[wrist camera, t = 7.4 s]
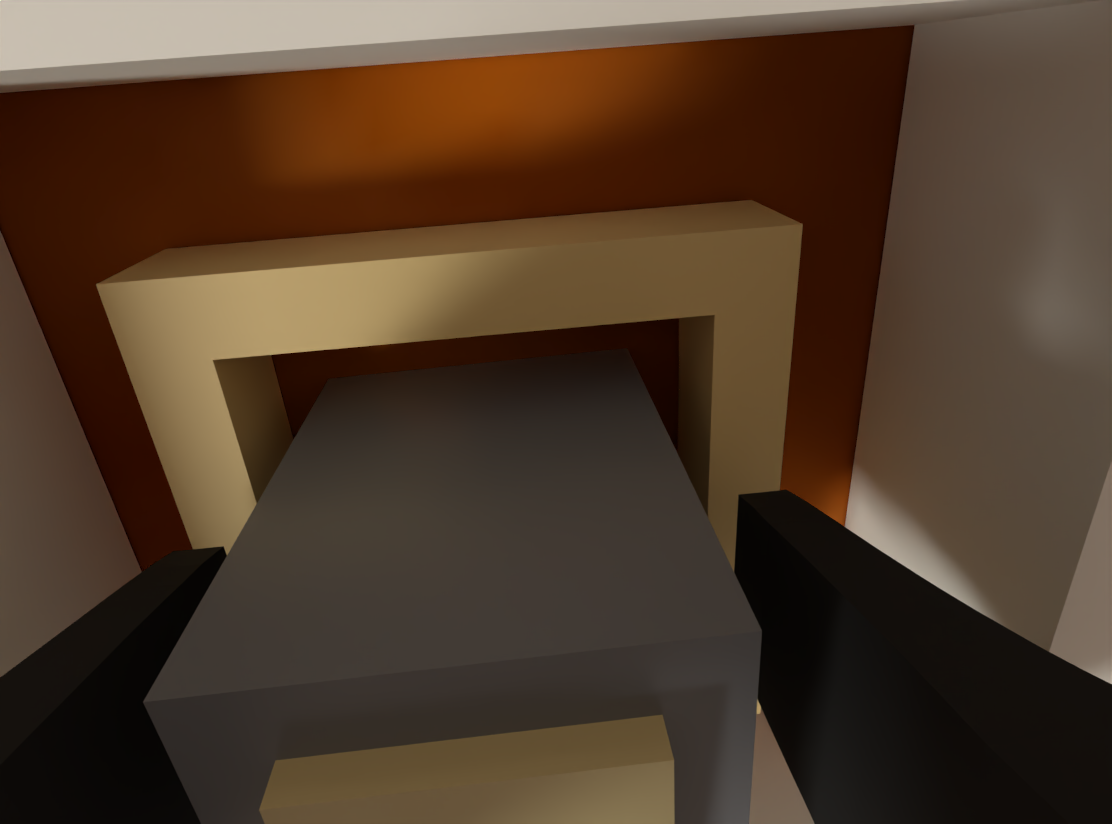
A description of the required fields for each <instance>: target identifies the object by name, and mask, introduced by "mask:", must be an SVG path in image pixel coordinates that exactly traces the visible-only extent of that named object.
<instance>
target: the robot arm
mask: <svg viewBox="0 0 1112 824" xmlns="http://www.w3.org/2000/svg"><path fill="white" fill-rule="evenodd" d="M226 557H227V555H226V552H225V549H224V546H222V547H212V548H202V549H192V550H182V551H173V552H171V553H170V554H168V555H167V556H165V557H164V558H162V559H160V560H159V561H157V562H156V563H154V564H153V565H151V566H150V567H148V568H147V569H145V570H144V571H143V572H141V573H140V574H138V575H137V576H136V577H134V578H133V579H131V580H130V581H129V582H127V583H126V584H125V585H123V586H122V587H121V588H119V589H118V590H116V591H115V592H114V593H112V594H111V595H110V596H108V597H107V598H106V599H104V600H103V601H102V602H100V603H99V604H98V605H96V606H95V607H94V608H92V609H91V610H90V611H88V612H87V613H86V614H84V615H83V616H82V617H80V618H79V619H78V620H76V621H75V622H74V623H72V624H71V625H70V626H68V627H67V628H66V629H64V630H63V631H62V632H60V633H59V634H58V635H56V636H55V637H54V638H52V639H51V640H50V641H48V642H47V643H46V644H44V645H43V646H42V647H40V648H39V649H38V650H36V651H35V652H34V653H32V654H31V655H30V656H28V657H27V658H26V659H24V660H23V661H22V662H20V663H19V664H18V665H16V666H15V667H13V668H12V669H11V670H9V671H8V672H7V673H5V674H4V675H3V676H1V677H0V824H201V823H200V820H199V818H198V816H197V814H196V812H195V810H194V808H193V806H192V804H191V802H190V800H189V797H188V795H187V793H186V791H185V789H184V787H183V785H182V783H181V781H180V779H179V776H178V774H177V772H176V770H175V768H174V766H173V764H172V762H171V760H170V758H169V756H168V753H167V751H166V749H165V747H164V745H163V743H162V741H161V739H160V737H159V735H158V733H157V730H156V728H155V726H154V724H153V722H152V720H151V718H150V716H149V714H148V712H147V709H146V707H145V705H144V703H143V701H144V700H145V698H146V696H147V694H148V693H149V691H150V689H151V687H152V686H153V684H154V682H155V680H156V679H157V677H158V675H159V673H160V672H161V670H162V668H163V666H164V665H165V663H166V661H167V659H168V658H169V656H170V654H171V652H172V651H173V649H174V647H175V645H176V644H177V642H178V640H179V639H180V637H181V635H182V633H183V632H184V630H185V628H186V626H187V625H188V623H189V621H190V619H191V618H192V616H193V614H194V612H195V611H196V609H197V607H198V605H199V604H200V602H201V600H202V598H203V597H204V595H205V593H206V591H207V590H208V588H209V586H210V584H211V583H212V581H213V579H214V578H215V576H216V574H217V572H218V571H219V569H220V567H221V565H222V564H223V562H224V560H225V558H226ZM734 573H735V575H736V577H737V579H738V582H739V584H740V586H741V588H742V590H743V592H744V594H745V596H746V598H747V600H748V603H749V605H750V607H751V609H752V611H753V613H754V615H755V617H756V619H757V621H758V624H759V626H760V628H761V630H762V639H761V654H760V669H759V684H758V698H757V699H758V702H759V704H760V706H761V708H762V711H763V713H764V715H765V717H766V719H767V722H768V724H769V726H770V728H771V730H772V733H773V735H774V737H775V739H776V741H777V743H778V746H779V748H780V750H781V752H782V754H783V757H784V759H785V761H786V763H787V765H788V767H789V770H790V772H791V774H792V776H793V778H794V780H795V782H796V785H797V787H798V789H799V791H800V793H801V795H802V798H803V800H804V802H805V804H806V806H807V808H808V811H809V813H810V815H811V817H812V819H813V821H814V823H815V824H1112V684H1110V683H1108V682H1106V681H1104V680H1102V679H1100V678H1098V677H1096V676H1094V675H1092V674H1090V673H1088V672H1086V671H1084V670H1082V669H1080V668H1079V667H1077V666H1075V665H1073V664H1071V663H1069V662H1067V661H1065V660H1064V659H1062V658H1060V657H1058V656H1056V655H1054V654H1052V653H1050V652H1049V651H1047V650H1045V649H1043V648H1041V647H1039V646H1038V645H1036V644H1034V643H1032V642H1031V641H1029V640H1027V639H1025V638H1024V637H1022V636H1020V635H1018V634H1017V633H1015V632H1013V631H1011V630H1010V629H1008V628H1006V627H1004V626H1003V625H1001V624H999V623H997V622H996V621H994V620H992V619H990V618H989V617H987V616H985V615H983V614H982V613H980V612H978V611H976V610H975V609H973V608H971V607H970V606H968V605H966V604H965V603H963V602H961V601H960V600H958V599H957V598H955V597H953V596H952V595H950V594H948V593H947V592H945V591H943V590H942V589H940V588H938V587H937V586H935V585H934V584H932V583H930V582H929V581H927V580H926V579H924V578H922V577H921V576H919V575H918V574H916V573H915V572H913V571H911V570H910V569H908V568H907V567H905V566H904V565H902V564H900V563H899V562H897V561H896V560H894V559H893V558H891V557H890V556H888V555H887V554H885V553H883V552H882V551H880V550H879V549H877V548H876V547H874V546H873V545H871V544H870V543H868V542H867V541H865V540H864V539H862V538H861V537H859V536H858V535H856V534H855V533H853V532H852V531H850V530H849V529H847V528H846V527H844V526H843V525H841V524H839V523H838V522H836V521H835V520H833V519H832V518H830V517H829V516H827V515H826V514H824V513H823V512H821V511H820V510H818V509H817V508H815V507H814V506H812V505H811V504H809V503H807V502H806V501H804V500H803V499H801V498H800V497H798V496H796V495H794V494H793V493H791V492H789V491H788V490H779V491H769V492H759V493H749V494H739V495H738V512H737V530H736V548H735V566H734Z"/></svg>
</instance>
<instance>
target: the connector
mask: <svg viewBox="0 0 1112 824" xmlns="http://www.w3.org/2000/svg"><path fill="white" fill-rule="evenodd" d="M761 639H762V630H761V628H760V626H759V624H758V621H757V619H756V617H755V615H754V613H753V611H752V609H751V607H750V605H749V603H748V600H747V598H746V596H745V594H744V592H743V590H742V588H741V586H740V584H739V582H738V579H737V577H736V575H735V573H734V571H733V569H732V567H731V565H730V563H729V561H728V559H727V556H726V554H725V552H724V550H723V548H722V546H721V544H720V542H719V540H718V538H717V535H716V533H715V531H714V529H713V527H712V525H711V523H710V521H709V519H708V517H707V514H706V512H705V510H704V508H703V506H702V504H701V502H700V500H699V498H698V496H697V493H696V491H695V489H694V487H693V485H692V483H691V481H690V479H689V477H688V475H687V472H686V470H685V468H684V466H683V464H682V462H681V460H680V458H679V456H678V454H677V451H676V449H675V447H674V445H673V443H672V441H671V439H670V437H669V435H668V433H667V430H666V428H665V426H664V424H663V422H662V420H661V418H660V416H659V414H658V412H657V409H656V407H655V405H654V403H653V401H652V399H651V397H650V395H649V393H648V391H647V389H646V386H645V384H644V382H643V380H642V378H641V376H640V374H639V372H638V370H637V368H636V365H635V363H634V361H633V359H632V357H631V355H630V353H629V351H628V349H627V348H624V349H614V350H604V351H594V352H584V353H575V354H565V355H555V356H545V357H535V358H526V359H516V360H506V361H496V362H486V363H477V364H467V365H457V366H447V367H438V368H428V369H418V370H408V371H398V372H389V373H379V374H369V375H359V376H349V377H340V378H330V379H328V381H327V382H326V384H325V386H324V388H323V389H322V391H321V393H320V395H319V396H318V398H317V400H316V401H315V403H314V405H313V407H312V408H311V410H310V412H309V414H308V415H307V417H306V419H305V421H304V422H303V424H302V426H301V428H300V429H299V431H298V433H297V435H296V436H295V438H294V440H293V442H292V443H291V445H290V447H289V449H288V450H287V452H286V454H285V456H284V457H283V459H282V461H281V462H280V464H279V466H278V468H277V469H276V471H275V473H274V475H273V476H272V478H271V480H270V482H269V483H268V485H267V487H266V489H265V490H264V492H263V494H262V496H261V497H260V499H259V501H258V503H257V504H256V506H255V508H254V510H253V511H252V513H251V515H250V517H249V518H248V520H247V522H246V523H245V525H244V527H243V529H242V530H241V532H240V534H239V536H238V537H237V539H236V541H235V543H234V544H233V546H232V548H231V550H230V551H229V553H228V555H227V557H226V558H225V560H224V562H223V564H222V565H221V567H220V569H219V571H218V572H217V574H216V576H215V578H214V579H213V581H212V583H211V584H210V586H209V588H208V590H207V591H206V593H205V595H204V597H203V598H202V600H201V602H200V604H199V605H198V607H197V609H196V611H195V612H194V614H193V616H192V618H191V619H190V621H189V623H188V625H187V626H186V628H185V630H184V632H183V633H182V635H181V637H180V639H179V640H178V642H177V644H176V645H175V647H174V649H173V651H172V652H171V654H170V656H169V658H168V659H167V661H166V663H165V665H164V666H163V668H162V670H161V672H160V673H159V675H158V677H157V679H156V680H155V682H154V684H153V686H152V687H151V689H150V691H149V693H148V694H147V696H146V698H145V700H144V701H143V703H144V705H145V707H146V709H147V712H148V714H149V716H150V718H151V720H152V722H153V724H154V726H155V728H156V730H157V733H158V735H159V737H160V739H161V741H162V743H163V745H164V747H165V749H166V751H167V753H168V756H169V758H170V760H171V762H172V764H173V766H174V768H175V770H176V772H177V774H178V776H179V779H180V781H181V783H182V785H183V787H184V789H185V791H186V793H187V795H188V797H189V800H190V802H191V804H192V806H193V808H194V810H195V812H196V814H197V816H198V818H199V820H200V823H201V824H749V817H750V802H751V787H752V772H753V758H754V743H755V728H756V713H757V698H758V684H759V669H760V654H761Z"/></svg>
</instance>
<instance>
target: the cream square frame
mask: <svg viewBox="0 0 1112 824" xmlns="http://www.w3.org/2000/svg"><path fill="white" fill-rule="evenodd" d="M908 25H915V26H914V33H913V40H912V47H911V55H910V62H909V69H908V76H907V83H906V90H905V98H904V105H903V112H902V119H901V126H900V134H899V141H898V148H897V155H896V162H895V170H894V177H893V184H892V191H891V198H890V205H889V213H888V220H887V227H886V234H885V241H884V249H883V256H882V263H881V270H880V277H879V284H878V292H877V299H876V306H875V313H874V320H873V328H872V335H871V342H870V349H869V356H868V364H867V371H866V378H865V385H864V392H863V399H862V407H861V414H860V421H859V428H858V435H857V443H856V450H855V457H854V464H853V471H852V478H851V486H850V493H849V500H848V507H847V514H846V522H845V527H846V528H847V529H849V530H850V531H852V532H853V533H855V534H856V535H858V536H859V537H861V538H862V539H864V540H865V541H867V542H868V543H870V544H871V545H873V546H874V547H876V548H877V549H879V550H880V551H882V552H883V553H885V554H887V555H888V556H890V557H891V558H893V559H894V560H896V561H897V562H899V563H900V564H902V565H904V566H905V567H907V568H908V569H910V570H911V571H913V572H915V573H916V574H918V575H919V576H921V577H922V578H924V579H926V580H927V581H929V582H930V583H932V584H934V585H935V586H937V587H938V588H940V589H942V590H943V591H945V592H947V593H948V594H950V595H952V596H953V597H955V598H957V599H958V600H960V601H961V602H963V603H965V604H966V605H968V606H970V607H971V608H973V609H975V610H976V611H978V612H980V613H982V614H983V615H985V616H987V617H989V618H990V619H992V620H994V621H996V622H997V623H999V624H1001V625H1003V626H1004V627H1006V628H1008V629H1010V630H1011V631H1013V632H1015V633H1017V634H1018V635H1020V636H1022V637H1024V638H1025V639H1027V640H1029V641H1031V642H1032V643H1034V644H1036V645H1038V646H1039V647H1041V648H1043V649H1045V650H1047V651H1049V652H1050V653H1052V654H1054V655H1056V656H1058V657H1060V658H1062V659H1064V660H1065V661H1067V662H1069V663H1071V664H1073V665H1075V666H1077V667H1079V668H1080V669H1082V670H1084V671H1086V672H1088V673H1090V674H1092V675H1094V676H1096V677H1098V678H1100V679H1102V680H1104V681H1106V682H1108V683H1110V684H1112V0H0V93H6V92H20V91H33V90H47V89H60V88H74V87H87V86H101V85H114V84H127V83H141V82H154V81H168V80H181V79H195V78H208V77H222V76H235V75H248V74H262V73H275V72H289V71H302V70H316V69H329V68H343V67H356V66H370V65H383V64H396V63H410V62H423V61H437V60H450V59H464V58H477V57H491V56H504V55H517V54H531V53H544V52H558V51H571V50H585V49H598V48H612V47H625V46H639V45H652V44H665V43H679V42H692V41H706V40H719V39H733V38H746V37H760V36H773V35H786V34H800V33H813V32H827V31H840V30H854V29H867V28H881V27H894V26H908ZM802 229H803V224H802V223H799V222H797V221H795V220H793V219H791V218H789V217H787V216H785V215H782V214H780V213H778V212H776V211H774V210H772V209H770V208H768V207H766V206H763V205H761V204H759V203H757V202H755V201H753V200H743V201H731V202H719V203H708V204H696V205H684V206H672V207H660V208H648V209H636V210H624V211H612V212H600V213H588V214H576V215H564V216H552V217H540V218H528V219H516V220H504V221H492V222H480V223H469V224H457V225H445V226H433V227H421V228H409V229H397V230H385V231H373V232H361V233H349V234H337V235H325V236H313V237H301V238H289V239H277V240H265V241H253V242H241V243H229V244H218V245H206V246H194V247H182V248H170V249H164V250H162V251H160V252H158V253H157V254H155V255H153V256H151V257H149V258H147V259H145V260H143V261H141V262H139V263H137V264H135V265H133V266H131V267H129V268H127V269H125V270H123V271H121V272H119V273H117V274H115V275H113V276H111V277H109V278H107V279H105V280H103V281H101V282H99V283H97V284H96V287H97V290H98V292H99V295H100V298H101V300H102V303H103V306H104V309H105V311H106V314H107V317H108V319H109V322H110V325H111V328H112V330H113V333H114V336H115V339H116V341H117V344H118V347H119V349H120V352H121V355H122V358H123V360H124V363H125V366H126V368H127V371H128V374H129V377H130V379H131V382H132V385H133V388H134V390H135V393H136V396H137V398H138V401H139V404H140V407H141V409H142V412H143V415H144V417H145V420H146V423H147V426H148V428H149V431H150V434H151V437H152V439H153V442H154V445H155V447H156V450H157V453H158V456H159V458H160V461H161V464H162V466H163V469H164V472H165V475H166V477H167V480H168V483H169V486H170V488H171V491H172V494H173V496H174V499H175V502H176V505H177V507H178V510H179V513H180V515H181V518H182V521H183V524H184V526H185V529H186V532H187V535H188V537H189V540H190V543H191V545H192V548H193V549H202V548H212V547H222V546H224V549H225V552H226V555H228V553H229V551H230V550H231V548H232V546H233V544H234V543H235V541H236V539H237V537H238V536H239V534H240V532H241V530H242V529H243V527H244V525H245V523H246V522H247V520H248V518H249V517H250V515H251V513H252V511H253V510H254V508H255V506H256V504H257V503H258V501H259V499H260V497H261V496H262V494H263V492H264V490H265V489H266V487H267V485H268V483H269V482H270V480H271V478H272V476H273V475H274V473H275V471H276V469H277V468H278V466H279V464H280V462H281V461H282V459H283V457H284V456H285V454H286V452H287V450H288V449H289V447H290V445H291V443H292V442H293V436H292V432H291V428H290V425H289V421H288V417H287V413H286V410H285V406H284V402H283V398H282V395H281V391H280V387H279V383H278V380H277V376H276V372H275V368H274V364H273V361H272V357H271V355H274V354H285V353H296V352H307V351H318V350H330V349H341V348H352V347H363V346H374V345H385V344H396V343H407V342H418V341H429V340H441V339H452V338H463V337H474V336H485V335H496V334H507V333H518V332H529V331H541V330H552V329H563V328H574V327H585V326H596V325H607V324H618V323H629V322H640V321H652V320H663V319H674V318H679V375H678V456H679V458H680V460H681V462H682V464H683V466H684V468H685V470H686V472H687V475H688V477H689V479H690V481H691V483H692V485H693V487H694V489H695V491H696V493H697V496H698V498H699V500H700V502H701V504H702V506H703V508H704V510H705V512H706V514H707V517H708V519H709V521H710V523H711V525H712V527H713V529H714V531H715V533H716V535H717V538H718V540H719V542H720V544H721V546H722V548H723V550H724V552H725V554H726V556H727V559H728V561H729V563H730V565H731V567H732V569H733V571H734V566H735V548H736V530H737V512H738V495H739V494H749V493H759V492H769V491H779V490H780V482H781V470H782V459H783V447H784V436H785V424H786V413H787V401H788V390H789V378H790V367H791V355H792V344H793V332H794V321H795V309H796V298H797V286H798V275H799V263H800V252H801V240H802ZM141 572H142V571H141V569H140V566H139V564H138V562H137V559H136V557H135V554H134V552H133V550H132V547H131V545H130V542H129V540H128V538H127V535H126V533H125V530H124V528H123V525H122V523H121V521H120V518H119V516H118V513H117V511H116V509H115V506H114V504H113V501H112V499H111V497H110V494H109V492H108V489H107V487H106V484H105V482H104V480H103V477H102V475H101V472H100V470H99V468H98V465H97V463H96V460H95V458H94V456H93V453H92V451H91V448H90V446H89V443H88V441H87V439H86V436H85V434H84V431H83V429H82V427H81V424H80V422H79V419H78V417H77V415H76V412H75V410H74V407H73V405H72V402H71V400H70V398H69V395H68V393H67V390H66V388H65V386H64V383H63V381H62V378H61V376H60V374H59V371H58V369H57V366H56V364H55V361H54V359H53V357H52V354H51V352H50V349H49V347H48V345H47V342H46V340H45V337H44V335H43V333H42V330H41V328H40V325H39V323H38V320H37V318H36V316H35V313H34V311H33V308H32V306H31V304H30V301H29V299H28V296H27V294H26V291H25V289H24V287H23V284H22V282H21V279H20V277H19V275H18V272H17V270H16V267H15V265H14V263H13V260H12V258H11V255H10V253H9V250H8V248H7V246H6V243H5V241H4V238H3V236H2V234H1V231H0V677H1V676H3V675H4V674H5V673H7V672H8V671H9V670H11V669H12V668H13V667H15V666H16V665H18V664H19V663H20V662H22V661H23V660H24V659H26V658H27V657H28V656H30V655H31V654H32V653H34V652H35V651H36V650H38V649H39V648H40V647H42V646H43V645H44V644H46V643H47V642H48V641H50V640H51V639H52V638H54V637H55V636H56V635H58V634H59V633H60V632H62V631H63V630H64V629H66V628H67V627H68V626H70V625H71V624H72V623H74V622H75V621H76V620H78V619H79V618H80V617H82V616H83V615H84V614H86V613H87V612H88V611H90V610H91V609H92V608H94V607H95V606H96V605H98V604H99V603H100V602H102V601H103V600H104V599H106V598H107V597H108V596H110V595H111V594H112V593H114V592H115V591H116V590H118V589H119V588H121V587H122V586H123V585H125V584H126V583H127V582H129V581H130V580H131V579H133V578H134V577H136V576H137V575H138V574H140V573H141ZM749 824H815V823H814V821H813V819H812V817H811V815H810V813H809V811H808V808H807V806H806V804H805V802H804V800H803V798H802V795H801V793H800V791H799V789H798V787H797V785H796V782H795V780H794V778H793V776H792V774H791V772H790V770H789V767H788V765H787V763H786V761H785V759H784V757H783V754H782V752H781V750H780V748H779V746H778V743H777V741H776V739H775V737H774V735H773V733H772V730H771V728H770V726H769V724H768V722H767V719H766V717H765V715H764V713H763V711H762V708H761V706H760V704H759V702H758V699H757V713H756V728H755V743H754V758H753V772H752V787H751V802H750V817H749Z"/></svg>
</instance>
